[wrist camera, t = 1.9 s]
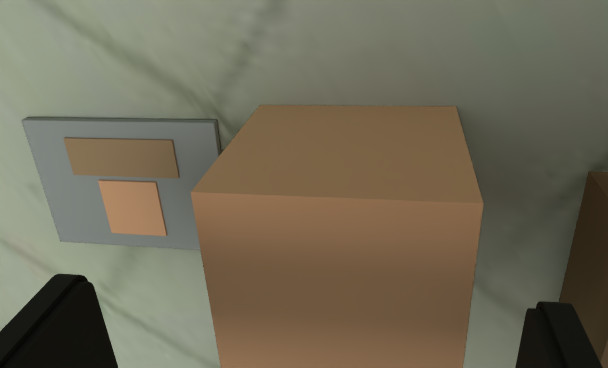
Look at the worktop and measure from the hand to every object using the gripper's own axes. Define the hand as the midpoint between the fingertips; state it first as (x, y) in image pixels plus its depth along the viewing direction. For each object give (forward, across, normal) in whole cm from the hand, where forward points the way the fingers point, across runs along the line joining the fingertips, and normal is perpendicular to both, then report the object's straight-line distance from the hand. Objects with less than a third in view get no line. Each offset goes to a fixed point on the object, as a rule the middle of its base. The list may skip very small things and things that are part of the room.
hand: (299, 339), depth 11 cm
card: (+7, +7, 0) cm, 10 cm away
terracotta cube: (+7, -1, 0) cm, 7 cm away
